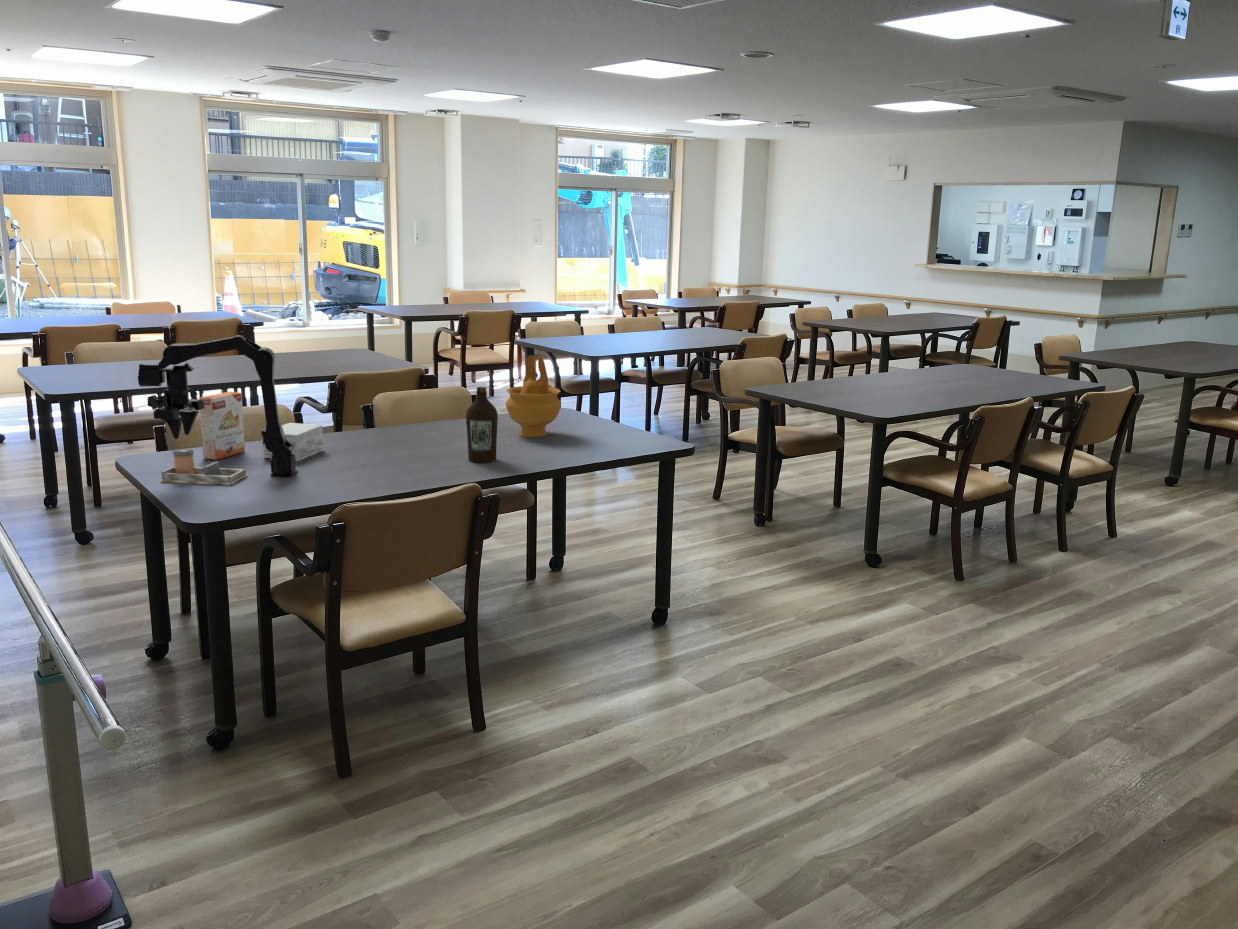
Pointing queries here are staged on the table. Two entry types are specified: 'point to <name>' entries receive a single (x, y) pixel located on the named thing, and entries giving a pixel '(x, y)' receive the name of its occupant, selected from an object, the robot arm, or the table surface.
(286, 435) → the supplement box
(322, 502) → the table surface
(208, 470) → the pusher plate
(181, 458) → the jar
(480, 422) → the olive oil
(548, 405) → the decorative bowl
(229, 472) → the shallow rectangular tray
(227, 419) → the cracker box
